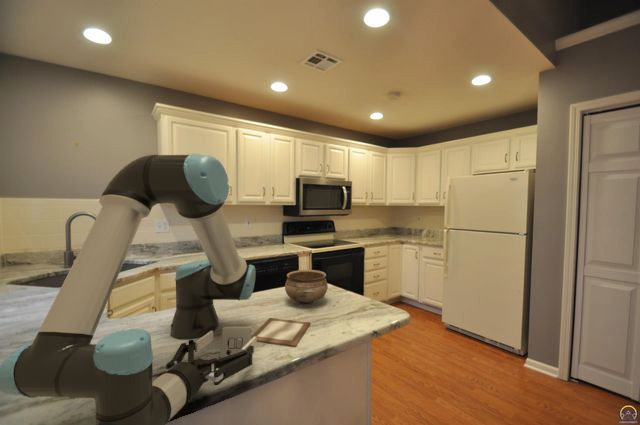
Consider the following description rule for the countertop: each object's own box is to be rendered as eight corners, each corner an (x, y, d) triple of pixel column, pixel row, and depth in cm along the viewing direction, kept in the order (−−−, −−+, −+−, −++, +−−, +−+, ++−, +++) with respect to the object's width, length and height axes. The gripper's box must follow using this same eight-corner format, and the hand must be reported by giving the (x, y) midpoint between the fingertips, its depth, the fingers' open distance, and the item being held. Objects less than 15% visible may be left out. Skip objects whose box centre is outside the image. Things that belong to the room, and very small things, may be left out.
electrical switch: (219, 360, 73) (220, 329, 73) (225, 352, 77) (226, 323, 78) (249, 360, 73) (250, 329, 73) (253, 352, 77) (254, 323, 78)
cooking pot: (284, 293, 128) (284, 268, 128) (322, 291, 131) (322, 267, 131) (285, 314, 103) (285, 283, 103) (332, 311, 106) (332, 281, 106)
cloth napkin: (247, 340, 83) (247, 338, 83) (269, 319, 99) (269, 317, 99) (295, 347, 79) (295, 344, 79) (310, 324, 95) (310, 322, 95)
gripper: (124, 397, 56) (195, 345, 76) (228, 421, 50) (274, 358, 70) (124, 362, 56) (195, 320, 76) (227, 382, 49) (274, 330, 70)
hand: (233, 338), depth 73 cm, fingers open, 13 cm apart
